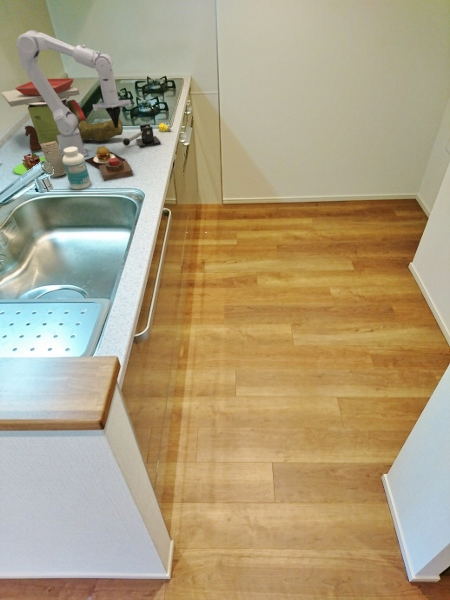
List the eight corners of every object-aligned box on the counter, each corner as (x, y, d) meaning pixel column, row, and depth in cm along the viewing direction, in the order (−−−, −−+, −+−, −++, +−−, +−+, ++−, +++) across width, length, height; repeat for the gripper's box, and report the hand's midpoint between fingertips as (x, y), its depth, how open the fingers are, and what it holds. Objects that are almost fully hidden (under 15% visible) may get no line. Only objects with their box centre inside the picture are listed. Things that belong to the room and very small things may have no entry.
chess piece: (29, 151, 172) (19, 127, 167) (39, 148, 175) (30, 123, 170) (34, 152, 170) (24, 127, 164) (45, 148, 173) (35, 124, 167)
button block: (104, 181, 149) (101, 170, 146) (99, 170, 156) (97, 160, 153) (133, 175, 152) (131, 165, 149) (127, 165, 159) (125, 155, 156)
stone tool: (81, 133, 183) (79, 147, 177) (74, 115, 175) (72, 129, 170) (125, 130, 184) (125, 143, 179) (121, 112, 176) (120, 125, 171)
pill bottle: (72, 181, 149) (61, 145, 140) (92, 180, 149) (83, 144, 140) (68, 190, 143) (57, 153, 134) (89, 189, 144) (79, 152, 135)
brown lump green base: (35, 178, 152) (29, 163, 147) (8, 171, 157) (1, 156, 153) (63, 163, 161) (59, 148, 157) (37, 157, 167) (31, 142, 162)
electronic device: (10, 107, 162) (9, 101, 160) (1, 94, 174) (-1, 89, 173) (80, 94, 173) (79, 89, 171) (66, 83, 185) (65, 79, 184)
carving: (51, 178, 149) (39, 144, 144) (50, 176, 155) (39, 143, 150) (68, 174, 151) (57, 141, 146) (67, 172, 157) (56, 140, 152)
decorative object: (81, 139, 184) (70, 127, 192) (89, 137, 185) (77, 126, 194) (74, 109, 174) (62, 98, 182) (82, 107, 175) (70, 96, 184)
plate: (62, 107, 165) (61, 103, 164) (12, 108, 165) (10, 104, 164) (76, 94, 181) (75, 90, 180) (30, 95, 181) (29, 91, 180)
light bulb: (156, 130, 186) (159, 128, 188) (169, 135, 186) (171, 132, 189) (157, 123, 184) (160, 121, 186) (170, 128, 184) (172, 125, 186)
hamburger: (110, 152, 169) (107, 139, 165) (125, 160, 162) (122, 147, 159) (84, 160, 163) (81, 147, 160) (99, 169, 157) (95, 155, 153)
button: (110, 166, 150) (109, 162, 148) (108, 163, 152) (107, 158, 151) (120, 165, 150) (119, 160, 149) (118, 161, 153) (117, 157, 152)
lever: (125, 147, 172) (122, 141, 170) (124, 145, 174) (121, 139, 172) (151, 133, 172) (148, 126, 170) (150, 130, 175) (146, 124, 172)
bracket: (140, 148, 172) (137, 130, 167) (136, 141, 178) (133, 124, 173) (160, 144, 174) (158, 127, 170) (156, 138, 180) (153, 121, 175)
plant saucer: (16, 96, 165) (13, 87, 163) (38, 86, 179) (36, 78, 176) (57, 96, 162) (54, 87, 160) (76, 86, 176) (74, 78, 174)
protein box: (74, 140, 180) (64, 104, 170) (39, 144, 178) (26, 107, 167) (76, 133, 188) (66, 97, 177) (42, 136, 185) (30, 100, 175)
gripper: (91, 95, 148) (100, 132, 157) (129, 90, 152) (136, 127, 161) (88, 91, 153) (97, 127, 162) (126, 86, 157) (132, 122, 166)
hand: (116, 127), depth 162 cm, fingers closed
